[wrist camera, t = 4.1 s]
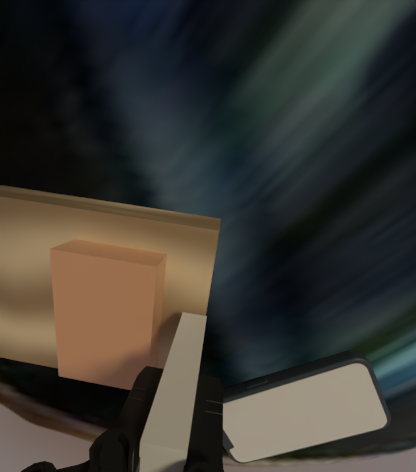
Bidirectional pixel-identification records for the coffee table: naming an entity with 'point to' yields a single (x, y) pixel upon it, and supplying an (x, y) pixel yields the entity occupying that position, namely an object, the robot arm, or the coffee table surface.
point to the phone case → (302, 407)
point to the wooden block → (101, 231)
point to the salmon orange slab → (106, 310)
